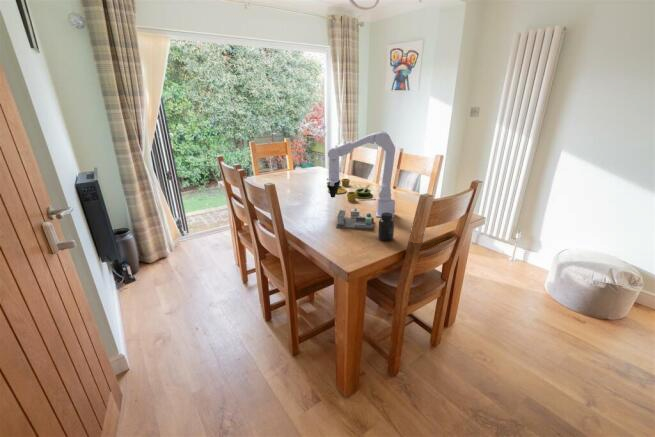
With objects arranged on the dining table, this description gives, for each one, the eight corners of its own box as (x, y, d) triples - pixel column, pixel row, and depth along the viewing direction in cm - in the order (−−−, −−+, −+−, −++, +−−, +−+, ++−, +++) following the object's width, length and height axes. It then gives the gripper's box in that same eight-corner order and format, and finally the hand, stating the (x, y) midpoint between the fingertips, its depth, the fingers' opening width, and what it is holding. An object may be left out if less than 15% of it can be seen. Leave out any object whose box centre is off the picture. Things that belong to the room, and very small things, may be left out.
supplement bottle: (391, 235, 137) (393, 211, 133) (394, 241, 131) (397, 216, 126) (376, 235, 137) (378, 211, 133) (379, 242, 131) (381, 217, 126)
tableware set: (377, 201, 185) (378, 191, 182) (334, 204, 180) (334, 194, 178) (360, 184, 222) (360, 175, 220) (324, 185, 218) (323, 177, 216)
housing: (359, 215, 161) (360, 207, 159) (359, 218, 157) (359, 210, 155) (351, 215, 162) (351, 206, 160) (350, 218, 157) (350, 209, 156)
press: (373, 221, 153) (374, 211, 151) (372, 230, 143) (373, 219, 141) (339, 219, 156) (339, 209, 154) (336, 227, 146) (336, 216, 144)
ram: (371, 221, 151) (372, 211, 149) (371, 226, 144) (371, 216, 142) (365, 220, 151) (366, 211, 149) (364, 226, 145) (365, 216, 143)
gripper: (329, 167, 164) (329, 191, 169) (324, 173, 151) (324, 198, 156) (341, 168, 163) (341, 191, 168) (337, 174, 150) (337, 199, 155)
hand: (334, 195), depth 162 cm, fingers open, 7 cm apart
